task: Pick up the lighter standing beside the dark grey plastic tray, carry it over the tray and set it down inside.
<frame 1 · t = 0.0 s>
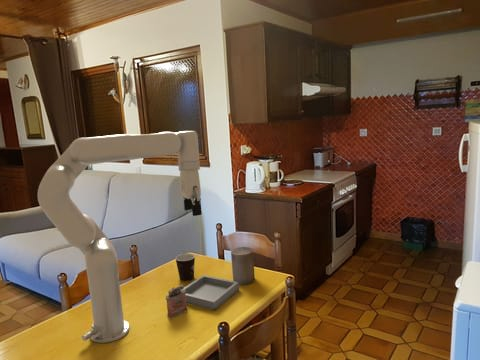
hand: (192, 212, 132), 37 cm above the table, tool pointing down, fingers open, 9 cm apart
tray: (208, 295, 147), on the table
pillar candle: (243, 280, 159), on the table
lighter: (177, 313, 135), on the table
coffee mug: (184, 279, 163), on the table
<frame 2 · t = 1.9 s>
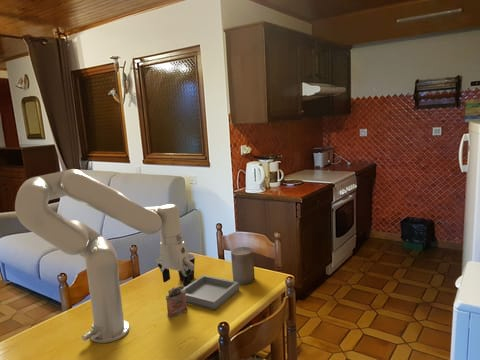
hand: (176, 282, 133), 12 cm above the table, tool pointing down, fingers open, 9 cm apart
nothing on the table moved.
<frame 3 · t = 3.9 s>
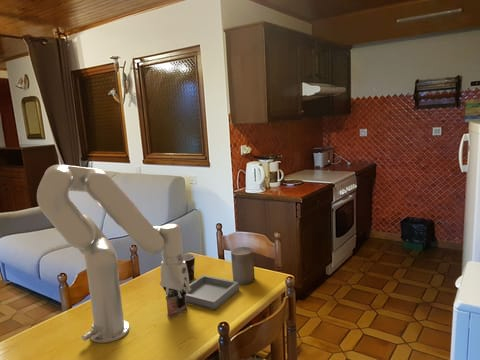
hand: (176, 304, 134), 3 cm above the table, tool pointing down, fingers closed on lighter, 4 cm apart
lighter: (177, 313, 135), on the table, touching gripper
everything else where it was.
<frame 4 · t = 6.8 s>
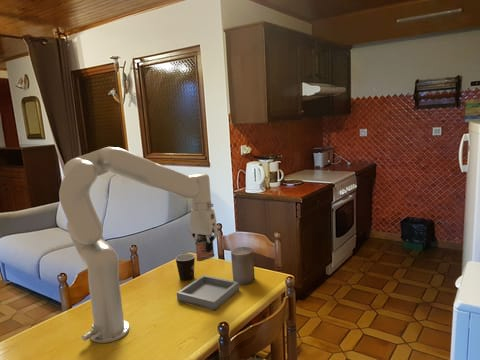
hand: (205, 250, 143), 19 cm above the table, tool pointing down, fingers closed on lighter, 4 cm apart
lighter: (205, 258, 144), point 16 cm above the table, touching gripper
everything else where it was.
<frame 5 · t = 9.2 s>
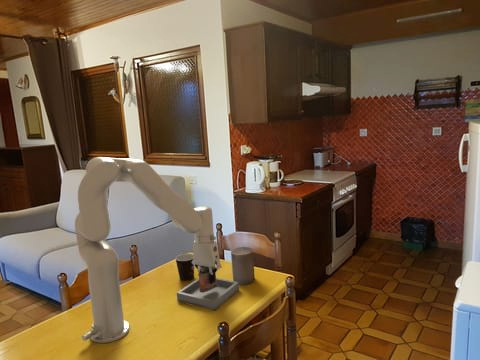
hand: (207, 280, 146), 6 cm above the table, tool pointing down, fingers closed on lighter, 4 cm apart
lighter: (208, 289, 146), point 3 cm above the table, touching gripper
everything else where it was.
when the fingers open (6 cm above the table, at t = 10.1 s): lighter drops 1 cm, resting on tray.
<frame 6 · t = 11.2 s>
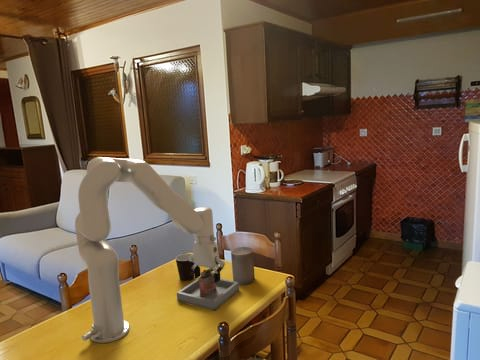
hand: (207, 279, 145), 7 cm above the table, tool pointing down, fingers open, 9 cm apart
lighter: (208, 293, 146), point 1 cm above the table, touching tray
everything else where it was.
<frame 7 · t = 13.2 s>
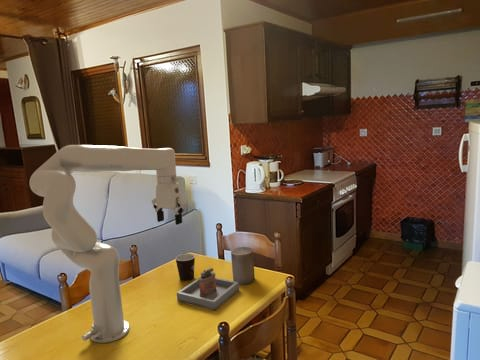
hand: (169, 222, 144), 31 cm above the table, tool pointing down, fingers open, 9 cm apart
nothing on the table moved.
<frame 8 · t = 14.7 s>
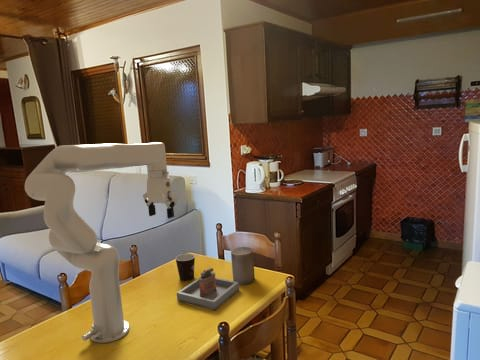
hand: (161, 216, 144), 33 cm above the table, tool pointing down, fingers open, 9 cm apart
nothing on the table moved.
at the end: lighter inside the target area on the tray (0.2 cm from its centre), point 0.8 cm above the tray's base; the gripper is holding nothing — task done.
